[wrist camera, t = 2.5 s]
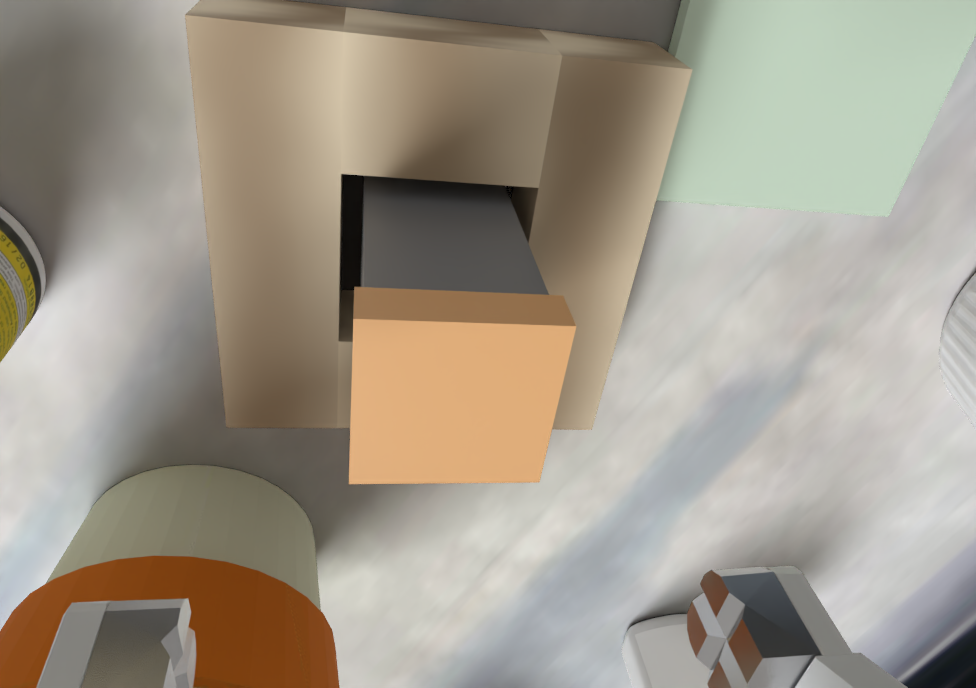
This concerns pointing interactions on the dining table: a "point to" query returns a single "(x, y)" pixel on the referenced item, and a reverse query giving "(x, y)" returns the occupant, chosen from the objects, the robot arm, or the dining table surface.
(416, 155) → the socket block
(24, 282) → the supplement bottle
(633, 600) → the dining table surface
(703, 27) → the coaster
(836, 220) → the dining table surface
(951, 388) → the ramekin
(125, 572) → the reusable coffee cup
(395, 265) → the plug
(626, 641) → the eye dropper bottle
